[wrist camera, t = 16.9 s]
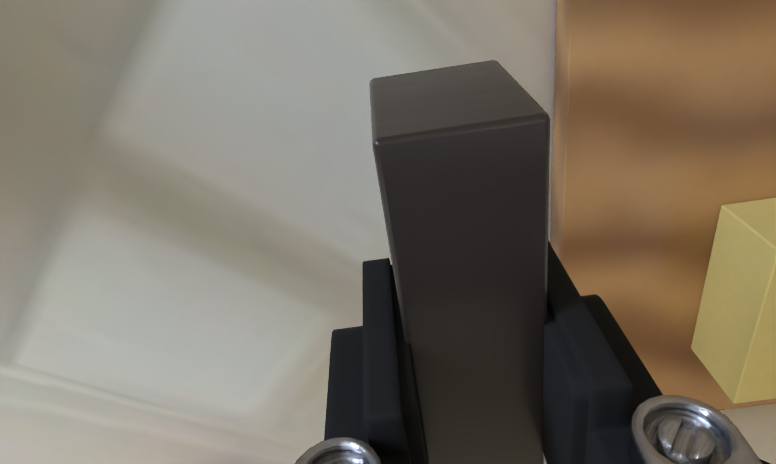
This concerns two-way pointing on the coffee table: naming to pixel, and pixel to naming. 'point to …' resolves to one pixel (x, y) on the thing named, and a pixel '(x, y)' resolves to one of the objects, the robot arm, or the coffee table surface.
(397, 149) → the knife
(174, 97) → the coffee table surface
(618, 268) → the cutting board
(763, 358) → the butter block
